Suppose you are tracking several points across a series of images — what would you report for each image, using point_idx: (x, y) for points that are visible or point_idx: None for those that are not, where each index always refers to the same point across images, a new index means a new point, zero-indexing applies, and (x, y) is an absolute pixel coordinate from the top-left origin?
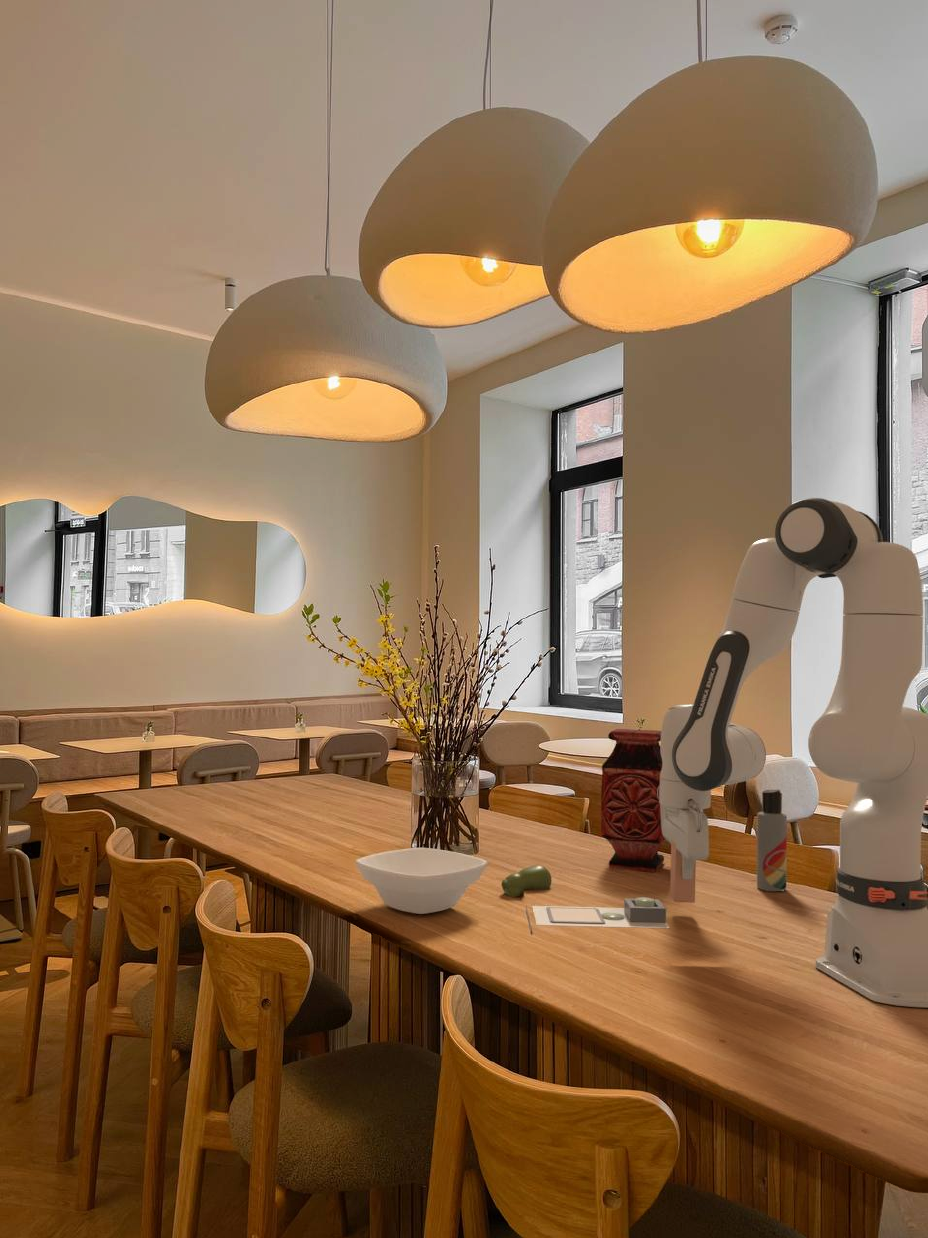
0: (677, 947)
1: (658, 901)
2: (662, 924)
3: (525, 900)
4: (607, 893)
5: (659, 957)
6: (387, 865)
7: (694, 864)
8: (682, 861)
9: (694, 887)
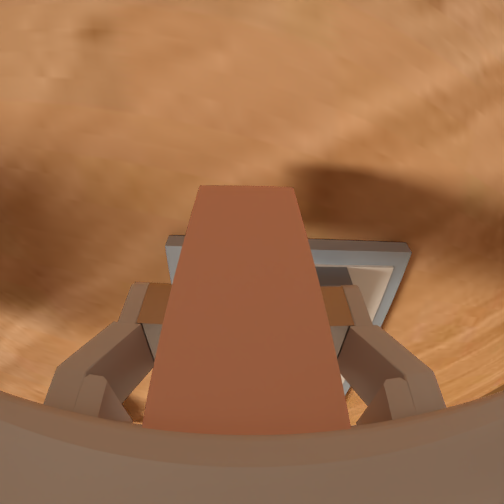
0: (462, 257)
1: None
2: (359, 277)
3: (139, 408)
4: (26, 304)
5: (487, 296)
6: None
7: (404, 349)
8: (366, 402)
9: (301, 225)
